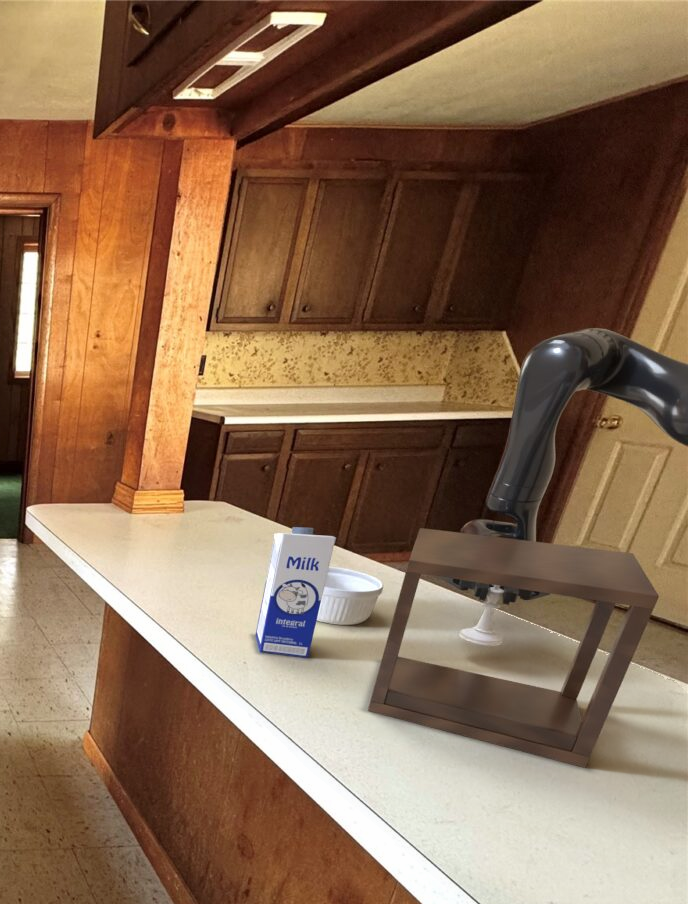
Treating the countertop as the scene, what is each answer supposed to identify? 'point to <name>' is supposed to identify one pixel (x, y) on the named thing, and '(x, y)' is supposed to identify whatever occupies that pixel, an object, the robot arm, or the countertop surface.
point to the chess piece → (485, 621)
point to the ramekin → (348, 596)
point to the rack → (502, 701)
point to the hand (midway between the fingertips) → (495, 596)
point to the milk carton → (293, 592)
